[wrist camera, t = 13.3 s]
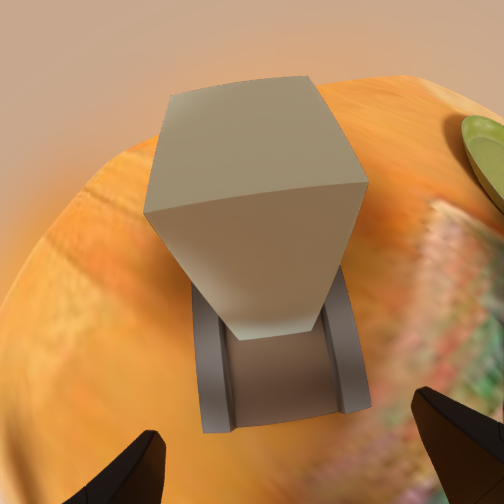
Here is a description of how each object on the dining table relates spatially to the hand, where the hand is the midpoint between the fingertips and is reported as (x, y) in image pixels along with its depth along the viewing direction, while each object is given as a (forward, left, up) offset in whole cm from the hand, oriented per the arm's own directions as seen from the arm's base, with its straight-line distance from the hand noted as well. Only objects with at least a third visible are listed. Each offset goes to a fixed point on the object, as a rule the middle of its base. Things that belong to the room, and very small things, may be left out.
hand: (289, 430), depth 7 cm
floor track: (+5, -6, -8) cm, 11 cm away
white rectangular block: (+5, -6, -8) cm, 11 cm away
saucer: (-16, -33, -9) cm, 38 cm away
